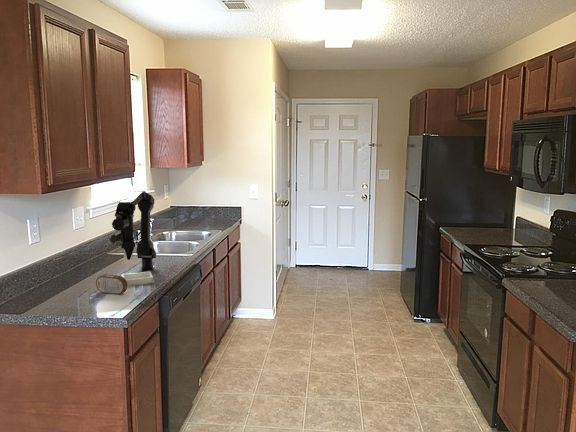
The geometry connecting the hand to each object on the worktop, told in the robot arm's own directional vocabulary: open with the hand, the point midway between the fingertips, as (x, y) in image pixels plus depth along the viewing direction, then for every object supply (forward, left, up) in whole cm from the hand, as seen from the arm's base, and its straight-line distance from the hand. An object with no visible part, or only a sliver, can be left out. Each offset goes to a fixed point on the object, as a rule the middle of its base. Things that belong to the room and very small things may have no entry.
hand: (128, 258), depth 231 cm
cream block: (0, 0, -2) cm, 3 cm away
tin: (+18, -9, -12) cm, 23 cm away
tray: (+3, +3, -11) cm, 12 cm away
